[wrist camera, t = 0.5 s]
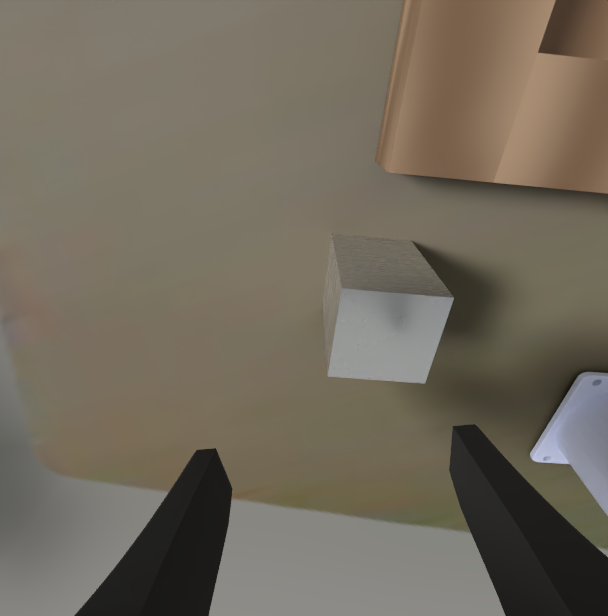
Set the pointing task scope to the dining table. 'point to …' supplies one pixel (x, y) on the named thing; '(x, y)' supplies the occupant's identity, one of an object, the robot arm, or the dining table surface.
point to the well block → (500, 93)
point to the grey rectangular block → (381, 310)
